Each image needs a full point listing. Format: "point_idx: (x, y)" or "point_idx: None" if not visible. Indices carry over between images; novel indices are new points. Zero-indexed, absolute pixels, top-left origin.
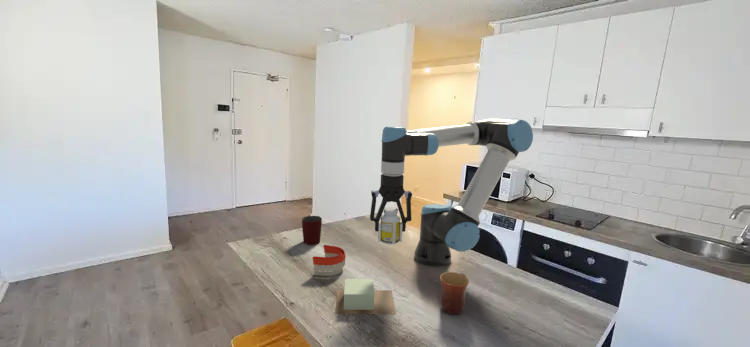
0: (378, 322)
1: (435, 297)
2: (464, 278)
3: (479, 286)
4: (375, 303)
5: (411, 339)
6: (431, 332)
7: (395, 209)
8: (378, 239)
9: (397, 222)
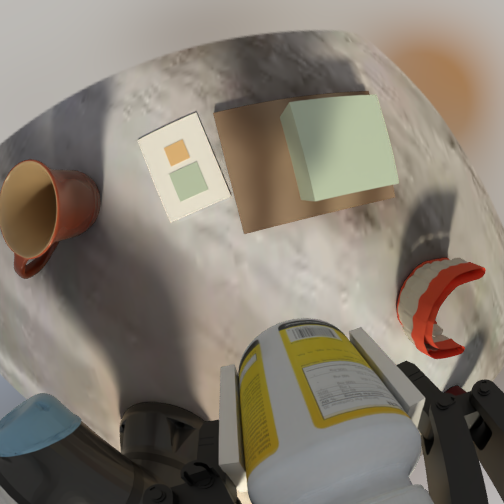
0: (257, 87)
1: (117, 248)
2: (9, 234)
3: (43, 325)
4: (281, 147)
5: (171, 55)
6: (125, 91)
7: None
8: (366, 333)
9: (266, 456)
